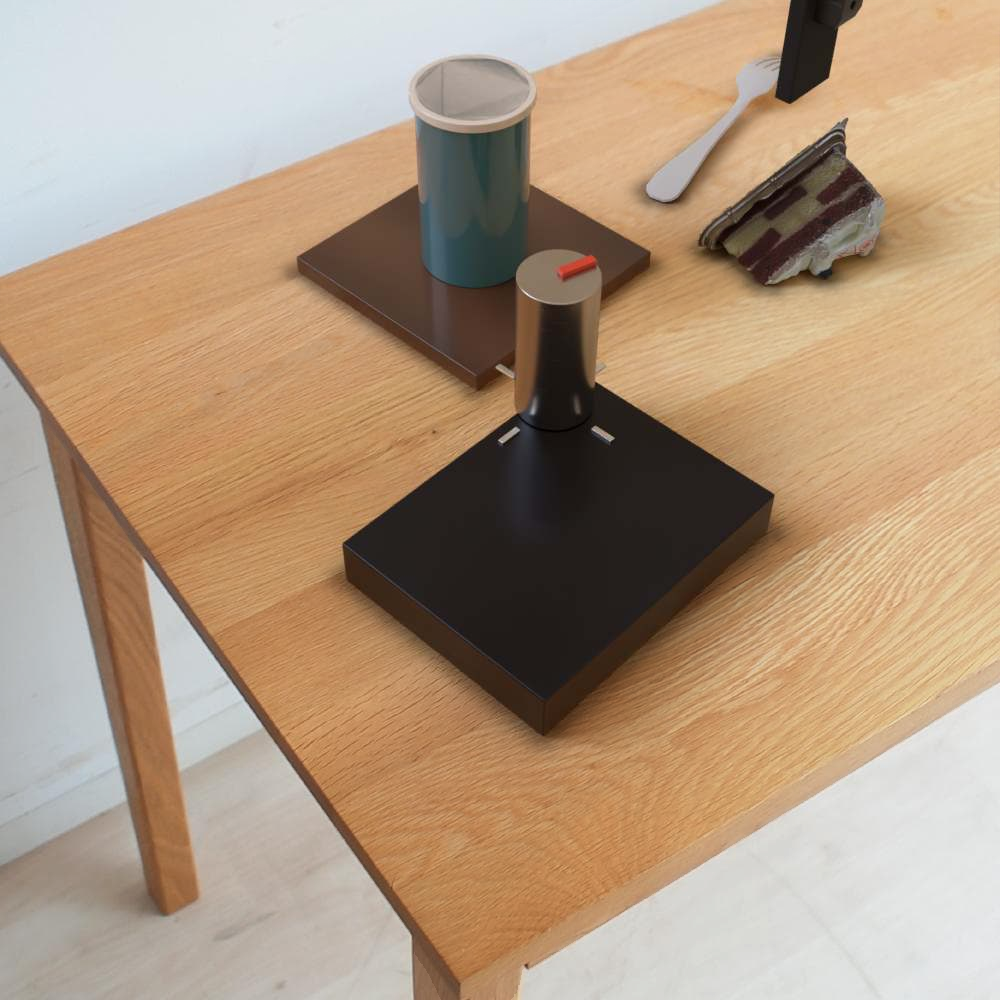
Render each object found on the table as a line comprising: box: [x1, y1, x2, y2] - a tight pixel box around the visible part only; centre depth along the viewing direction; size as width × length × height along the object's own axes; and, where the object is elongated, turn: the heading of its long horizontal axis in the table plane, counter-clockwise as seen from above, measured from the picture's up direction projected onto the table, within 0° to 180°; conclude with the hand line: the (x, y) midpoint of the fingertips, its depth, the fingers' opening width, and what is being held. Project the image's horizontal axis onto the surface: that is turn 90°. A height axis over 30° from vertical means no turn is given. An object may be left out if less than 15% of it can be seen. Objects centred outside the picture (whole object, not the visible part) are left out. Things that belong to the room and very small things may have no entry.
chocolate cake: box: [697, 117, 886, 286], centre depth 93 cm, size 10×7×12 cm
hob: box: [341, 361, 776, 737], centre depth 77 cm, size 19×17×3 cm
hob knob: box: [513, 249, 602, 430], centre depth 77 cm, size 4×4×9 cm
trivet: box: [296, 183, 652, 391], centre depth 92 cm, size 16×16×1 cm
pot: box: [407, 53, 538, 288], centre depth 87 cm, size 7×7×12 cm
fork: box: [645, 56, 781, 203], centre depth 103 cm, size 3×21×3 cm, turn 147°
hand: (671, 27), depth 62 cm, fingers open, 13 cm apart
